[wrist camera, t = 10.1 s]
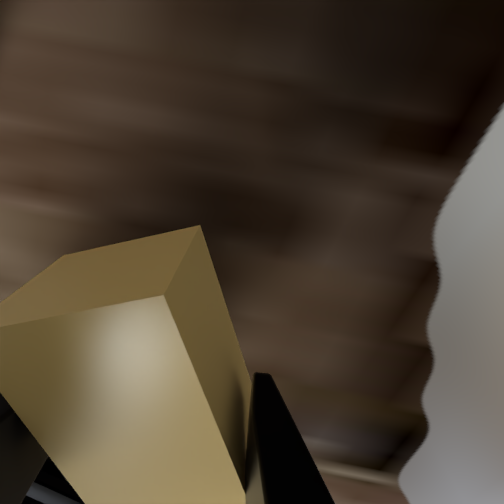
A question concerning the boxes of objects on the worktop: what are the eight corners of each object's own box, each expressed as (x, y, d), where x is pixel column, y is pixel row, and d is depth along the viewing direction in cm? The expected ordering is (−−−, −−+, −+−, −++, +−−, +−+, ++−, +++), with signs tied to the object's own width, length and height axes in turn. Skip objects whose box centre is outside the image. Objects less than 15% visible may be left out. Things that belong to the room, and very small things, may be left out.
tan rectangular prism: (262, 418, 10) (262, 536, 7) (157, 432, 10) (119, 548, 8) (200, 225, 7) (163, 294, 5) (63, 255, 8) (-44, 335, 5)
